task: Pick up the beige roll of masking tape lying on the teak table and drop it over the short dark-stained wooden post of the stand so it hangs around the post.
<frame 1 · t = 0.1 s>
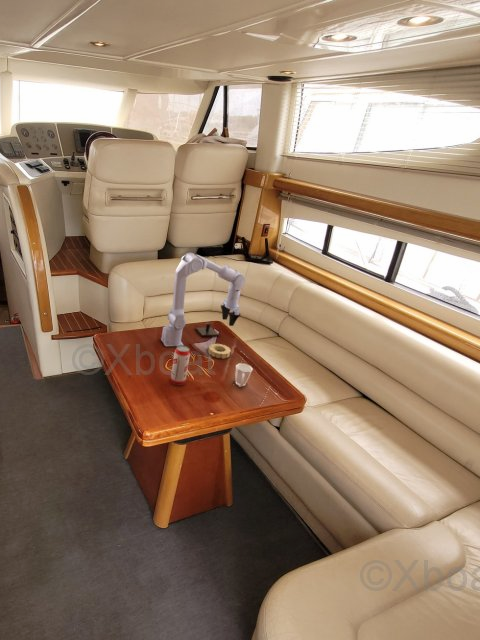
hand: (227, 322, 195), 10 cm above the table, tool pointing down, fingers open, 7 cm apart
tape: (218, 353, 187), on the table
beer can: (177, 382, 161), on the table
stand: (206, 333, 206), on the table
cup: (240, 385, 163), on the table
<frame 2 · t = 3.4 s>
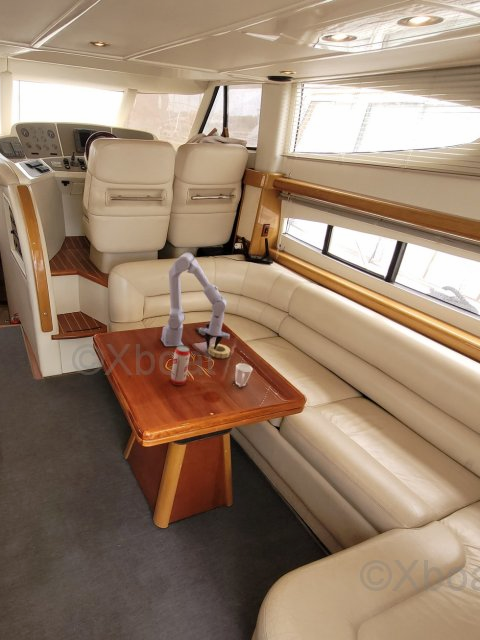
hand: (211, 348, 187), 1 cm above the table, tool pointing down, fingers closed on tape, 3 cm apart
tape: (218, 353, 187), on the table, touching gripper
everything else where it was.
when the fingers open (3 cm above the table, at t = 8.4 s): tape stays where it is, resting on stand.
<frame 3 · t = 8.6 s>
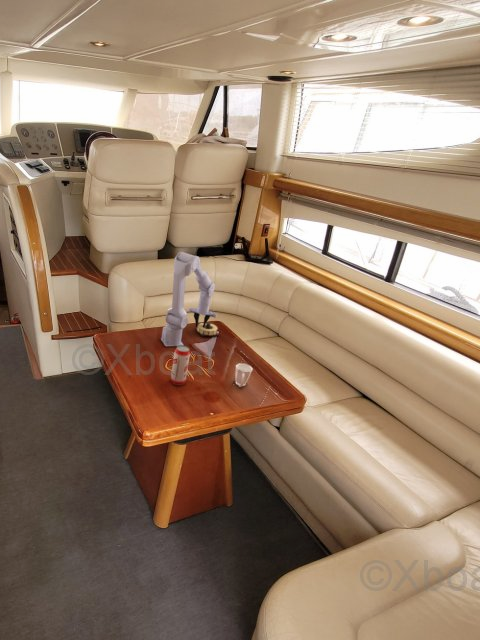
hand: (200, 327, 206), 3 cm above the table, tool pointing down, fingers open, 3 cm apart
tape: (206, 330, 206), point 1 cm above the table, touching stand
everything else where it was.
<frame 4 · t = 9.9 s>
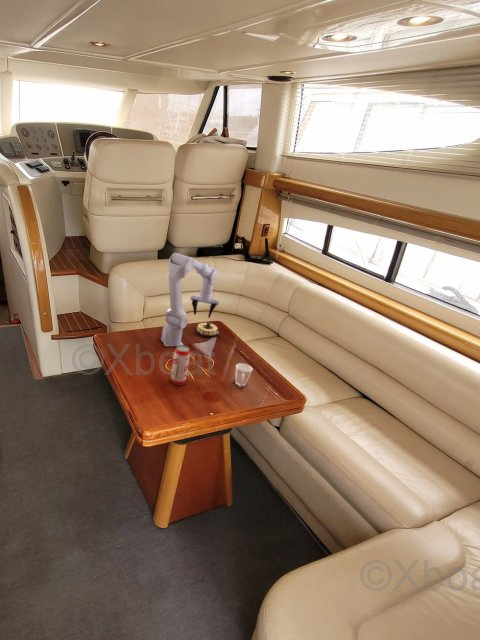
hand: (202, 315, 202), 9 cm above the table, tool pointing down, fingers open, 7 cm apart
nothing on the table moved.
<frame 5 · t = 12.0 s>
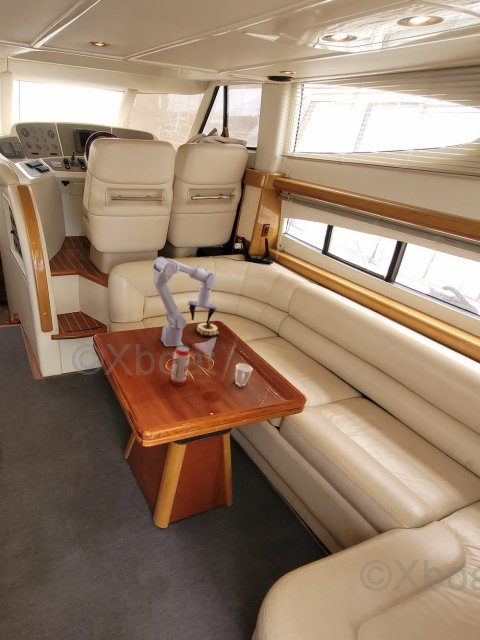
hand: (200, 321, 194), 10 cm above the table, tool pointing down, fingers open, 7 cm apart
nothing on the table moved.
at the end: tape 0.1 cm from the stand (horizontally); tape point 1.2 cm above the table; the gripper is holding nothing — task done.
